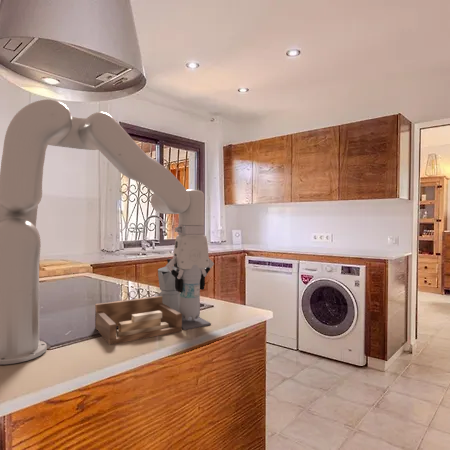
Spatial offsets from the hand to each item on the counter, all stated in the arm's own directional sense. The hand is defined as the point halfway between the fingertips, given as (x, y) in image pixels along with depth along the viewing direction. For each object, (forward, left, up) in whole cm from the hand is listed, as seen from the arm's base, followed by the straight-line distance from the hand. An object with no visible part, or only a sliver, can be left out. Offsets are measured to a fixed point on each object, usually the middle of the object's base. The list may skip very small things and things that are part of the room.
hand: (190, 289), depth 107 cm
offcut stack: (-15, -2, -10) cm, 19 cm away
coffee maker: (+1, +15, -10) cm, 18 cm away
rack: (-15, +2, -10) cm, 19 cm away
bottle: (0, 0, -9) cm, 9 cm away
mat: (0, 0, -10) cm, 10 cm away
